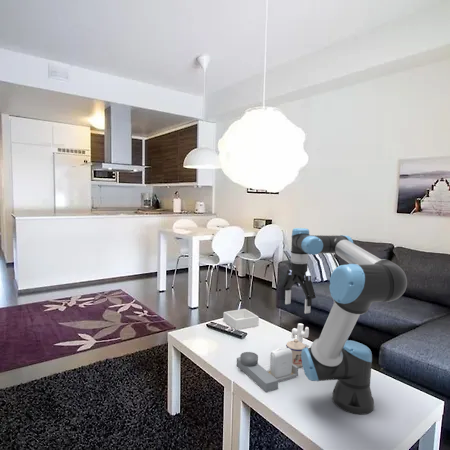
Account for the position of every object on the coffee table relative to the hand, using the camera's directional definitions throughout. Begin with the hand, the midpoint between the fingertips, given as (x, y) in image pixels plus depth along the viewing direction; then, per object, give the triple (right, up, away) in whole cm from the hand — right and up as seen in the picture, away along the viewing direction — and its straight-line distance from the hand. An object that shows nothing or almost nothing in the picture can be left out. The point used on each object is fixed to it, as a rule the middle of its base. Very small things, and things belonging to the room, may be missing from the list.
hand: (297, 308), depth 152 cm
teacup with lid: (+2, -28, +8) cm, 30 cm away
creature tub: (-23, -24, +56) cm, 65 cm away
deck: (-13, -29, -2) cm, 32 cm away
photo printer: (-8, -29, -5) cm, 30 cm away
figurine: (+5, -28, +19) cm, 34 cm away
